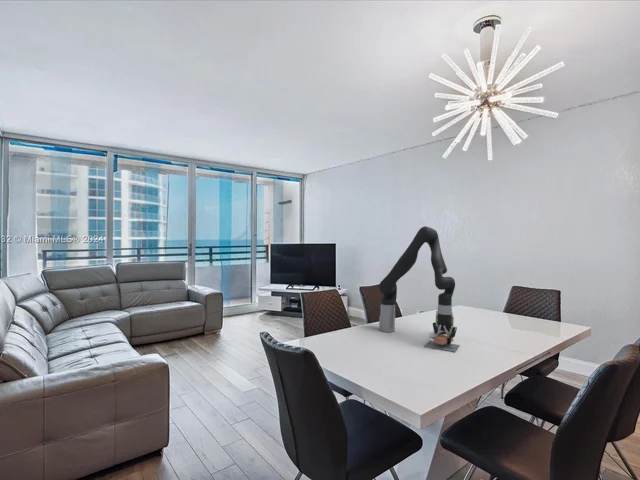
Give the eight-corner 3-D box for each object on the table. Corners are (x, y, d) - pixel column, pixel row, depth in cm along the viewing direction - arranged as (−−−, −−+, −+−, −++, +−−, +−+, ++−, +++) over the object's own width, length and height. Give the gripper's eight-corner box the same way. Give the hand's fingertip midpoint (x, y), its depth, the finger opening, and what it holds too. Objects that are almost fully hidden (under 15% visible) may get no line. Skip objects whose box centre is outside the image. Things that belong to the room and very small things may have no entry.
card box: (442, 339, 182) (453, 335, 189) (433, 336, 186) (445, 333, 193) (441, 344, 182) (453, 341, 189) (433, 342, 186) (445, 338, 193)
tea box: (453, 341, 197) (453, 316, 197) (435, 339, 201) (435, 315, 201) (452, 334, 212) (452, 311, 212) (435, 333, 215) (435, 309, 215)
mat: (424, 346, 187) (424, 345, 187) (430, 341, 198) (430, 340, 198) (455, 352, 178) (455, 351, 178) (459, 346, 189) (459, 344, 189)
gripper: (460, 314, 185) (459, 345, 185) (437, 309, 196) (436, 338, 196) (452, 316, 180) (452, 347, 180) (429, 311, 191) (429, 341, 191)
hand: (444, 343), depth 188 cm, fingers closed on card box, 5 cm apart
